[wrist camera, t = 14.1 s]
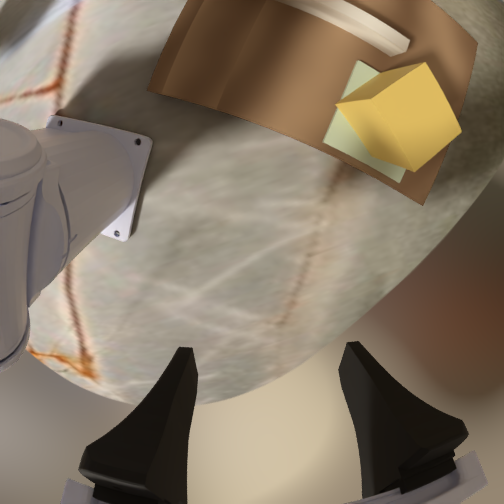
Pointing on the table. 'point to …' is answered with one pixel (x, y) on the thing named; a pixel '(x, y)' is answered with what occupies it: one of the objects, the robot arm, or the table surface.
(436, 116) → the block
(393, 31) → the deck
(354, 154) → the pad
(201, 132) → the table surface
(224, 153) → the table surface
